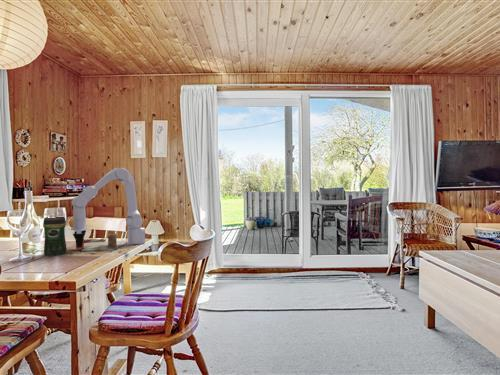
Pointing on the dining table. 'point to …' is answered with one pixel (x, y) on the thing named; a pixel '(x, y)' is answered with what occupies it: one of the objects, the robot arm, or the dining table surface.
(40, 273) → the dining table surface
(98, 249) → the eye bracket
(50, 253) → the coffee jar
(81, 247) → the hook bolt
